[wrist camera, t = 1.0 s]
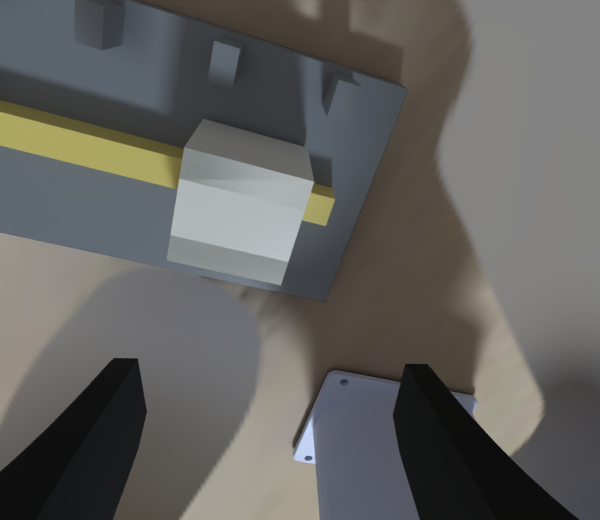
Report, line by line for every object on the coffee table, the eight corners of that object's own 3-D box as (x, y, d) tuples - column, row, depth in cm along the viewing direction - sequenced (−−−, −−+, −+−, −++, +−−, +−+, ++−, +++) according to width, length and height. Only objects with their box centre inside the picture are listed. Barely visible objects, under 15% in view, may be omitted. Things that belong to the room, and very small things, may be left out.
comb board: (400, 84, 17) (425, 100, 14) (322, 287, 22) (329, 331, 19) (-83, -71, 14) (-180, -92, 11) (-49, 205, 19) (-110, 243, 16)
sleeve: (307, 147, 16) (314, 181, 13) (280, 237, 18) (280, 285, 15) (203, 118, 16) (184, 147, 13) (186, 214, 18) (166, 260, 15)
